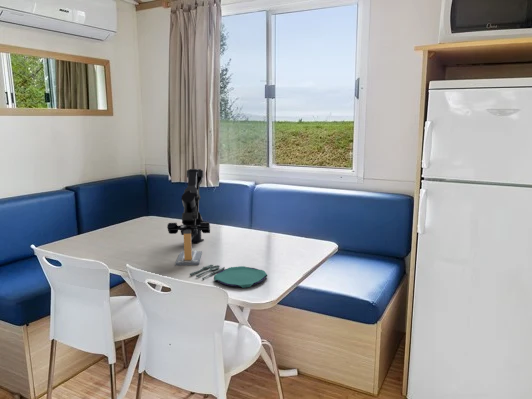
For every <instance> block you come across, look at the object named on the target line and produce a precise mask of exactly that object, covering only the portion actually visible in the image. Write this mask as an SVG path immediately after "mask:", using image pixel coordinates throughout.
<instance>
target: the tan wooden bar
mask: <svg viewBox="0 0 532 399" xmlns="http://www.w3.org/2000/svg"><path fill="white" fill-rule="evenodd" d="M183 234H184V235H183V252H184V258H185V260H192V251H193V250H192V245H193V244H192V243H191V230H184V231H183Z"/></svg>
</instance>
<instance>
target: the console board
mask: <svg viewBox="0 0 532 399" xmlns="http://www.w3.org/2000/svg"><path fill="white" fill-rule="evenodd" d="M202 254H203V250H196V249H195V250H194V251H193V250H192V260H185V258H184V251H180V252H179V255H178V257H177V259H176V261H175V266H199V265H200V263H201V259H202Z"/></svg>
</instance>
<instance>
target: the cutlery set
mask: <svg viewBox="0 0 532 399" xmlns="http://www.w3.org/2000/svg"><path fill="white" fill-rule="evenodd" d="M202 271H203V272H202ZM210 271H212V272H210ZM209 272H210V273H209ZM206 273H209V274H208V275H206V276H203V275H205V274H206ZM195 274H196V275H195ZM194 275H195V277H196V278H199V277H200V276H203V277H202V278H201V279H202V281H203V280H205V278H207V277H210V276H212V275H214V276H213V280H214V281H217V283H220V284H222V285H224V286H230V287H241V288H243V289H244V288H251V287H252V286H254V285H257V284H259V283H262V282H263V281H265V279H266V278H267V277H268V276H269V275H268V274H267V272H266V271H265V270H263V269H258V268H255V267H249V266H244V265H243V266H242V265H241V266H230V267H227V268H225V266H223V267H221V268H220V265H218V264H217V265H214V264H208V265H206V266H203V267H202V268H200V269H198V270H195V271H192V272H191V273H189V276H190V277H192V276H194Z"/></svg>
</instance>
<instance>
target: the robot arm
mask: <svg viewBox="0 0 532 399" xmlns="http://www.w3.org/2000/svg"><path fill="white" fill-rule="evenodd" d="M204 175H205V174H204V170H203V169H202V168H190V169H188V170H186V178H187V179H188V181H187V187H186V188H185V189H184V190H183V191H184V192H183V193H182V195H181V202H182V206H183V212H182V213H181V214H182V215H181V224H180V225H178V223H177V222H168V223H167V227H166V228H167V231H168V234H169V235H174V234H175V235H176V234H177V233H178V232H179V231H180V235H181V236H184V234H183V231H184V230H191V244H192V243H193V244H198V243H202V242H203V241H205V240H204V239H203V238H202V233H203V234H210V233H211V223H210V222H209V221H204V219H203V217H202V215H201V213H200V208H199V207H200V199H201V195H200V186H201V184H202V183H203V178H204V177H205V176H204Z"/></svg>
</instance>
